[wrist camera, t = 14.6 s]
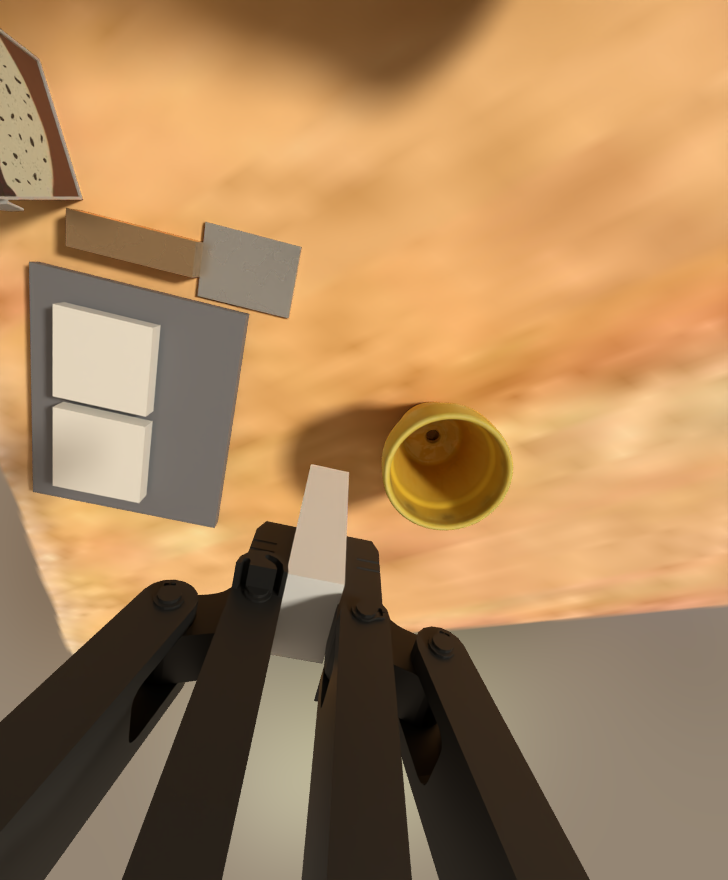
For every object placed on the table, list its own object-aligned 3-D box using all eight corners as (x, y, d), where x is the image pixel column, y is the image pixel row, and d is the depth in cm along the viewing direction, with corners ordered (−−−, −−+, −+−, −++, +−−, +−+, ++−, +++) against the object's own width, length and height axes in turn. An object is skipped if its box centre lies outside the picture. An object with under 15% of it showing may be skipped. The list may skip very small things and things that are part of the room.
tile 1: (162, 324, 40) (67, 301, 39) (152, 327, 38) (52, 303, 37) (155, 409, 43) (66, 390, 42) (146, 416, 41) (52, 396, 40)
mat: (38, 261, 39) (29, 261, 38) (249, 313, 41) (246, 315, 40) (40, 486, 47) (33, 491, 46) (217, 521, 49) (214, 527, 48)
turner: (82, 266, 39) (65, 266, 37) (83, 189, 37) (66, 185, 35) (289, 317, 41) (285, 321, 39) (302, 247, 39) (298, 246, 37)
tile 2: (154, 419, 43) (66, 400, 42) (145, 427, 41) (52, 406, 40) (148, 493, 46) (65, 476, 45) (139, 503, 44) (52, 485, 43)
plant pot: (475, 370, 43) (506, 400, 34) (489, 467, 47) (520, 518, 38) (367, 394, 44) (370, 430, 35) (389, 488, 48) (397, 543, 38)
